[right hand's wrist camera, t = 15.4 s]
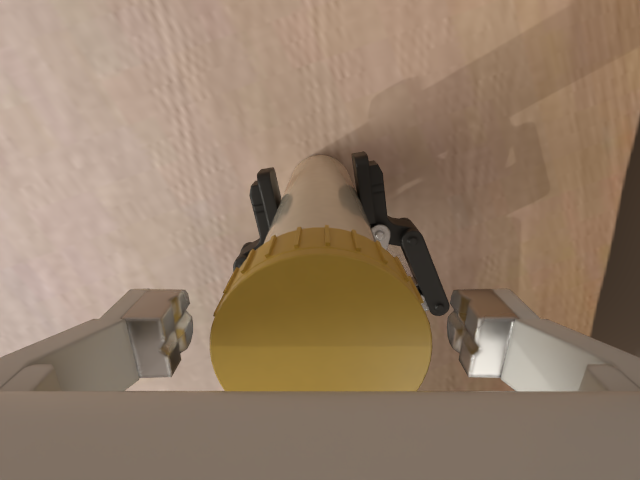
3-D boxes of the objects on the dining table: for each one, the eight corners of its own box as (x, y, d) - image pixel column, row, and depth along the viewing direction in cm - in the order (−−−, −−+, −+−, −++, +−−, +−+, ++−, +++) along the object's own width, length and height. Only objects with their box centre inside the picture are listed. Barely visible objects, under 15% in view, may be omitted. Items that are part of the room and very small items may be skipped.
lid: (270, 189, 9) (258, 209, 7) (453, 274, 10) (481, 310, 8) (199, 349, 10) (177, 396, 9) (359, 409, 11) (366, 462, 10)
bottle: (358, 163, 25) (437, 284, 8) (341, 221, 27) (378, 422, 10) (297, 147, 25) (248, 239, 8) (284, 206, 27) (218, 391, 9)
